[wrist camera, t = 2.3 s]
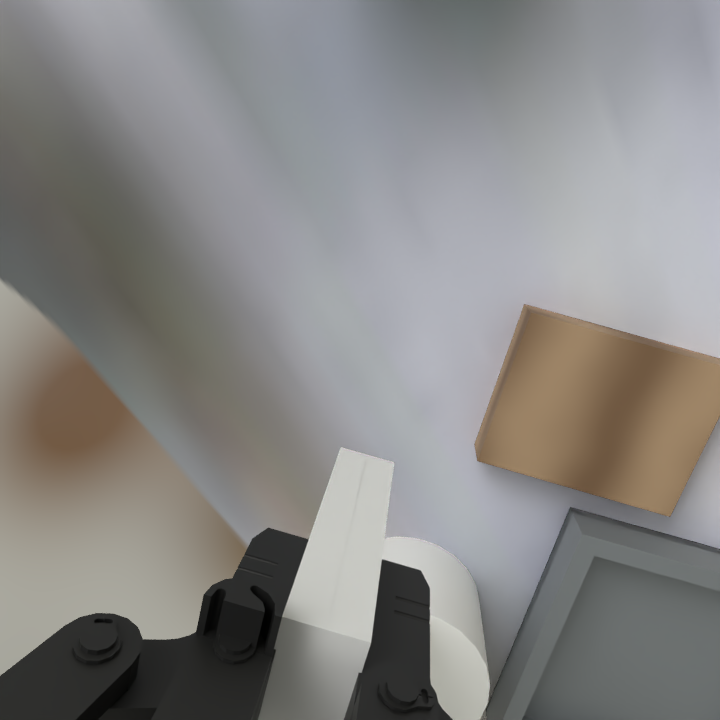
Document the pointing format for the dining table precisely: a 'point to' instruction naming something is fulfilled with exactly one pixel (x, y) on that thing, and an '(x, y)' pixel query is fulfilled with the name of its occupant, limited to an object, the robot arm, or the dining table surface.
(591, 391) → the tan rounded-edge slab
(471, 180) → the dining table surface
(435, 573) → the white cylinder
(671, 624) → the tray
